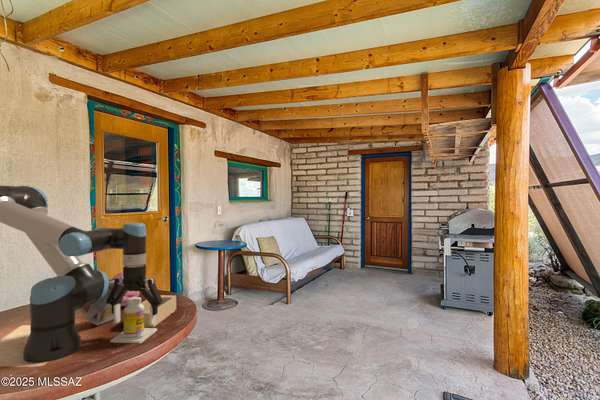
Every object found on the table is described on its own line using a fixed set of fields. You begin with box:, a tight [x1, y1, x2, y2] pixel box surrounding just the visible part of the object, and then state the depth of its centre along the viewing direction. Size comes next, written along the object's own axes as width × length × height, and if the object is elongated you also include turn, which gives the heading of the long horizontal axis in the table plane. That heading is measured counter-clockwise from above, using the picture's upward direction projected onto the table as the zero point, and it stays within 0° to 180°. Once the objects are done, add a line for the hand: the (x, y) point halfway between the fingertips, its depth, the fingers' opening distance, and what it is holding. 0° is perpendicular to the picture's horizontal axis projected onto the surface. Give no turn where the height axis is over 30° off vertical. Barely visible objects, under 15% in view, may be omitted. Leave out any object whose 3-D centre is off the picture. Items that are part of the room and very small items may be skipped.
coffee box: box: [85, 278, 125, 326], centre depth 129 cm, size 9×6×16 cm
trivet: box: [110, 327, 158, 344], centre depth 117 cm, size 11×11×1 cm
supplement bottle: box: [123, 296, 145, 337], centre depth 117 cm, size 7×7×13 cm
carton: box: [141, 294, 177, 328], centre depth 135 cm, size 11×23×6 cm, turn 176°
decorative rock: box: [112, 271, 141, 308], centre depth 152 cm, size 19×14×15 cm
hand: (134, 323), depth 117 cm, fingers open, 13 cm apart
